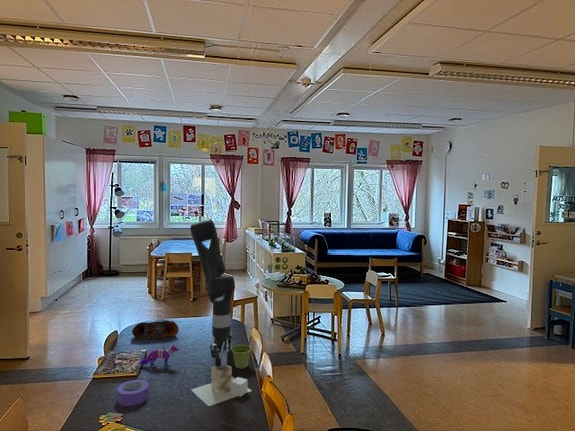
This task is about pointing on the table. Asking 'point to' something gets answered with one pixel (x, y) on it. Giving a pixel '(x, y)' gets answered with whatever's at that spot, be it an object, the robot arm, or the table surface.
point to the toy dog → (159, 355)
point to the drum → (223, 358)
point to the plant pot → (241, 355)
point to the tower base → (221, 387)
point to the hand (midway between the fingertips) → (221, 363)
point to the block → (239, 386)
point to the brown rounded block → (155, 330)
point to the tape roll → (132, 392)
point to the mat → (212, 394)
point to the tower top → (221, 373)
